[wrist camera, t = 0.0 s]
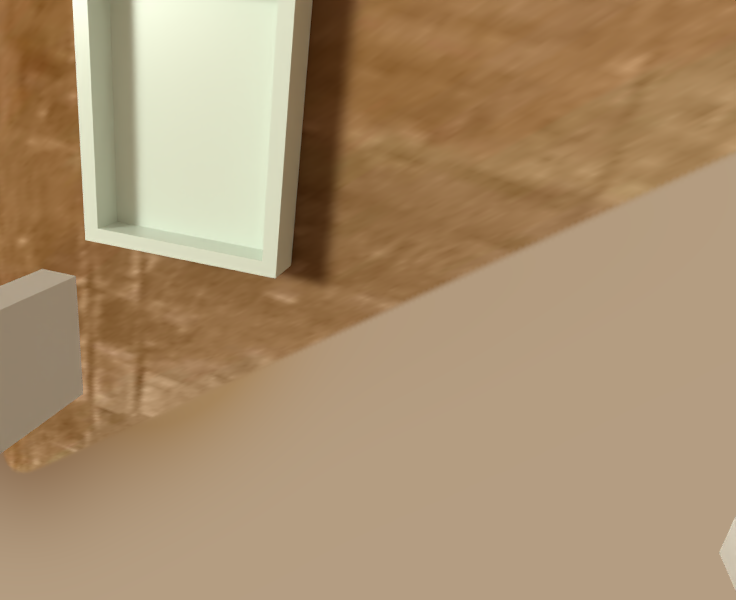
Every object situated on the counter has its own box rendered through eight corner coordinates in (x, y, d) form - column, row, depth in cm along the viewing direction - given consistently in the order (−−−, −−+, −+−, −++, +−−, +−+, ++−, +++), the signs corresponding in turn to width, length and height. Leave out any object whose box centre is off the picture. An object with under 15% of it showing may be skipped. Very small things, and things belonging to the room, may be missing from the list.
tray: (102, -47, 37) (69, -57, 34) (314, -23, 35) (297, -32, 32) (112, 229, 44) (85, 239, 41) (291, 265, 42) (275, 278, 39)
